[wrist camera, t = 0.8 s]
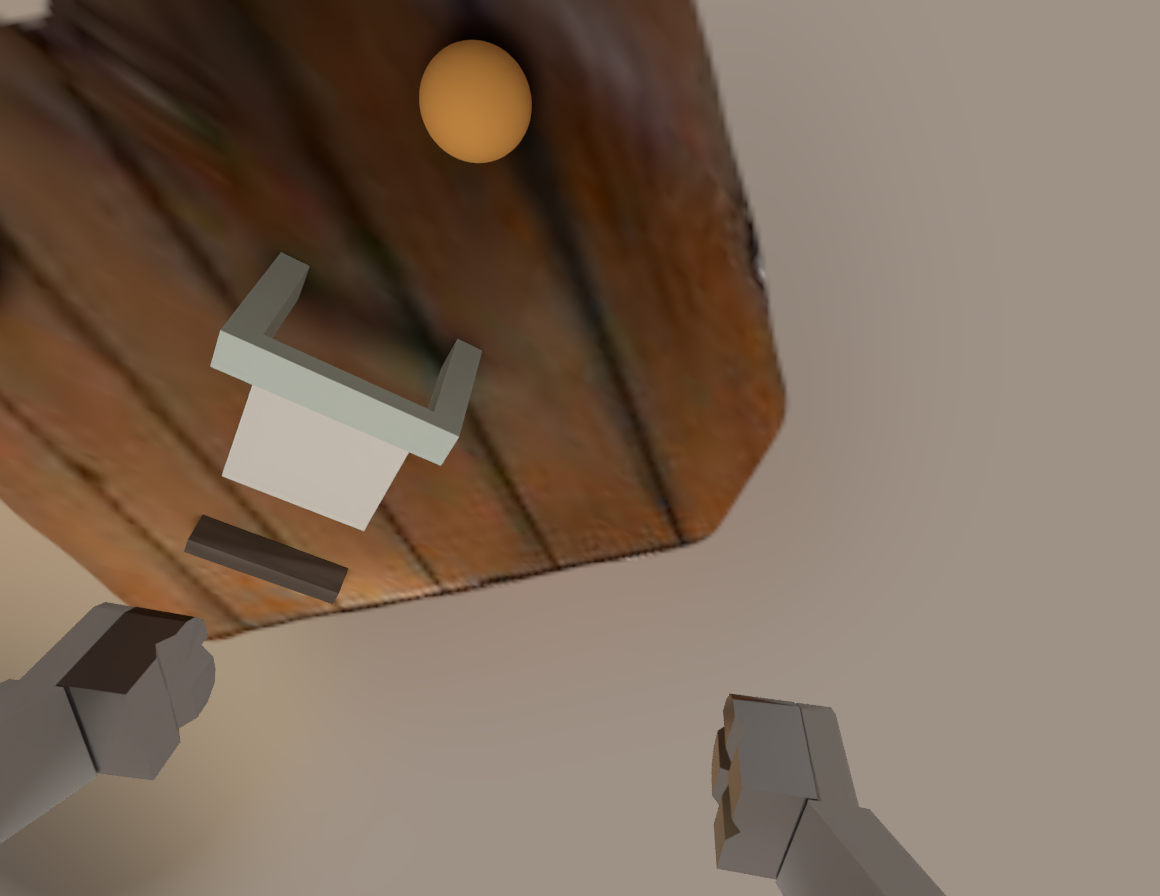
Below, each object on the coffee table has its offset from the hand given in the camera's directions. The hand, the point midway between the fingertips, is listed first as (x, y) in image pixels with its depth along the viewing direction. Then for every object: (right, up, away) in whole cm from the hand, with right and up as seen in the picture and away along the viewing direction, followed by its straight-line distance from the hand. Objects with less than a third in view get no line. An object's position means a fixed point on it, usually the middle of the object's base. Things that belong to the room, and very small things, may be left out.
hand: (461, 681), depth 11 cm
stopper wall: (-27, -6, +59) cm, 65 cm away
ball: (-4, +22, +28) cm, 36 cm away
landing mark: (-21, +3, +51) cm, 55 cm away
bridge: (-13, +13, +41) cm, 45 cm away
